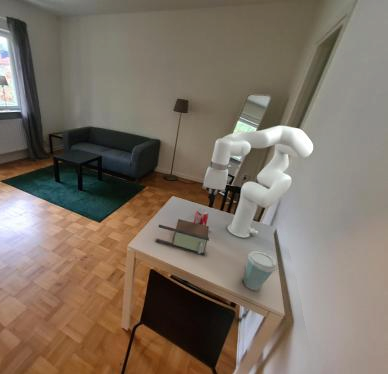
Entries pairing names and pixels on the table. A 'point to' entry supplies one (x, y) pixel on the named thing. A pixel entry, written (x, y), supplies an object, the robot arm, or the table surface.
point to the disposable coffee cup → (258, 269)
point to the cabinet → (187, 233)
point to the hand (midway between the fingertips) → (210, 200)
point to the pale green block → (189, 242)
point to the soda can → (201, 217)
